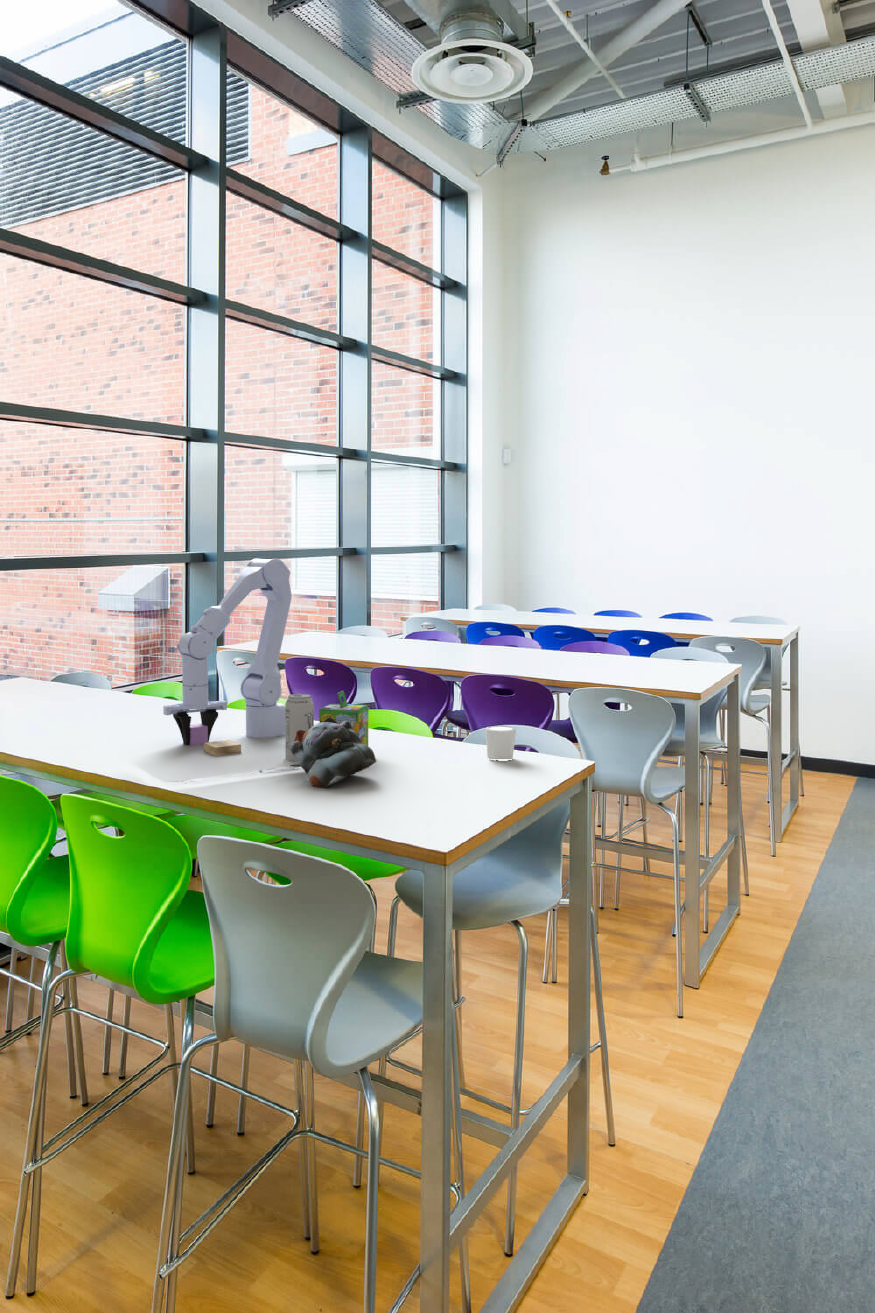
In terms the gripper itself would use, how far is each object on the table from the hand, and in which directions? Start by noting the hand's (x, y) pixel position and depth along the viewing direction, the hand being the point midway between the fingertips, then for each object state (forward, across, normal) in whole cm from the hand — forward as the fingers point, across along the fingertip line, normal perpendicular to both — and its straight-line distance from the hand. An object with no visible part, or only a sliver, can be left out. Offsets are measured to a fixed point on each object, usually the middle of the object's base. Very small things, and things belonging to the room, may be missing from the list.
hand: (196, 743), depth 207 cm
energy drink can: (+2, -12, +27) cm, 30 cm away
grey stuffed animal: (+2, -10, +44) cm, 45 cm away
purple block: (+1, 0, 0) cm, 1 cm away
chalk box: (+2, -24, +26) cm, 35 cm away
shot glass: (+2, -52, +47) cm, 70 cm away
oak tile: (0, -1, +12) cm, 12 cm away
